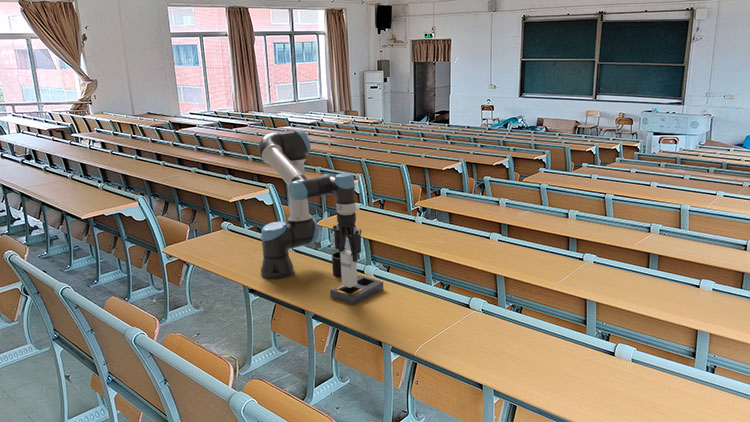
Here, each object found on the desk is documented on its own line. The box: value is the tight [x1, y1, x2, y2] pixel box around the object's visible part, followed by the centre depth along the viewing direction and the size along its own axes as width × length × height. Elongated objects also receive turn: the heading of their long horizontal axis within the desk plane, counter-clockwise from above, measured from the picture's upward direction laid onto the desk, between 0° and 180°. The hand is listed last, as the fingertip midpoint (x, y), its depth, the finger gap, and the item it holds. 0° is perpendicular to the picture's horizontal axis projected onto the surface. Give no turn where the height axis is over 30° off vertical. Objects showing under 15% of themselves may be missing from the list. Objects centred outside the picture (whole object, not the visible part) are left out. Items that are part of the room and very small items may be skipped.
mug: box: [331, 251, 342, 278], centre depth 252 cm, size 9×12×9 cm
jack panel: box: [330, 274, 384, 306], centre depth 233 cm, size 13×19×4 cm
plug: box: [340, 249, 358, 288], centre depth 226 cm, size 5×5×14 cm
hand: (348, 267), depth 226 cm, fingers closed on plug, 5 cm apart
